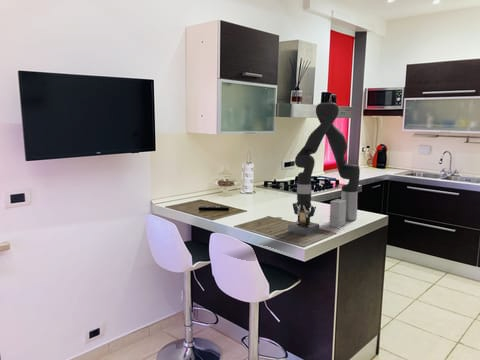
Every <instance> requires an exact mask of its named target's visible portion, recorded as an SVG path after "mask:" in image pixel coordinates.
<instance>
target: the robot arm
mask: <svg viewBox="0 0 480 360" xmlns="http://www.w3.org/2000/svg"><path fill="white" fill-rule="evenodd" d="M338 105H339V104H337V103H335V102H320V103H318V104H317V105H316V107H315V114H316V117H317V119H318V121H319V123H320V124H319V125H318V126H317V127H316V128H314V130H313V131H312V132H311V133H310V135H309V136H308V138H307V140H306V142H305V144H304V145H303V147H302V148H301V149H300V151H299V152H298V153H297V154H296V156H295V159H294V164H295V166H296V167H297V168H300V169H301V168H302V169H303V171H302V172H301V171H300V172H299V173H298V174H297V186H296V187H297V188H296V200H297V201H296V202H293V203H292V208H293V211H294V212H293V213H294V215H296V216H297V221H298V222H299V223H300V212H301V211H304V212H305V214H306V224H309V223H310V222H311V217H312V218H313V217H314V215H315V213H316V208H317V206H316V205H312V174H313V171H314V167H315V164H316V162H315V158H314V157H313V156H312V155H314V154H316V153H317V151H318V150H319V147H320V146H321V143H322V141H323V139H324V137H325V136H326V139H327V141H328V145H329V146H330V147H329V148H330V149H331V152H332V154H333V157H334V160H335V163H336V167H337V171H338V174H339V176H340V178H341V179H343V180H348V183H347V184H343V185H342V186H341V196H340V197H341V198H340V199H342V200H346V221H356V220H357V216H358V188H359V184H360V175H361V174H360V173H361V169H360V166H359V165H357V164H354V163H353V164H352V163H347V161H346V157H345V156H346V153H347V149H348V142H347V140H346V137H345V135H344V133H343V132H342V131H341V130H340V128H338V127H337V126H336V125H335V124H334V122H335V121H336V119H337V117H338V116H339V112H340V111H339V110H340V109H339V106H338Z"/></svg>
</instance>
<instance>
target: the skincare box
mask: <svg viewBox="0 0 480 360" xmlns="http://www.w3.org/2000/svg"><path fill="white" fill-rule="evenodd" d="M346 221H347V220H346V200H342V199H341V198H336V199H333V200H331V201H330V207H329V227H331V228H332V227H333V228H338V229H340V228H341V227H344V226H345V225H346Z"/></svg>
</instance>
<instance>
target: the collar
mask: <svg viewBox="0 0 480 360" xmlns="http://www.w3.org/2000/svg"><path fill="white" fill-rule="evenodd" d="M287 232H288V233H291V234H296V235H301V236H304V237H309V236H311V235H313V234H316V233H318V232H320V223H316V222H311V221H310V223H309V224H308V226H301V225H300V223H299V222H298V220H297V221H295V222H291V223H289V224H287Z"/></svg>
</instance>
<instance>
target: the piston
mask: <svg viewBox="0 0 480 360" xmlns="http://www.w3.org/2000/svg"><path fill="white" fill-rule="evenodd" d="M300 225H301V226H308V224H306V214H305V212H304V211H301V212H300Z"/></svg>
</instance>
